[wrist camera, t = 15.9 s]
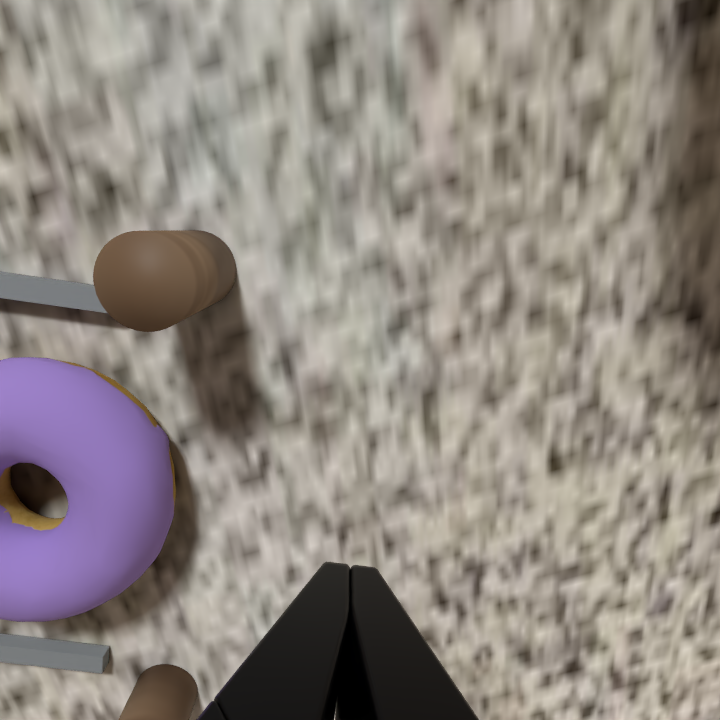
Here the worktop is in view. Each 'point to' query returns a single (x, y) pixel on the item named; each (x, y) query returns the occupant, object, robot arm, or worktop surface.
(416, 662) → the robot arm
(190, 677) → the gate post
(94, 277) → the gate post
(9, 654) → the frame
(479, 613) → the worktop surface
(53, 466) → the donut
